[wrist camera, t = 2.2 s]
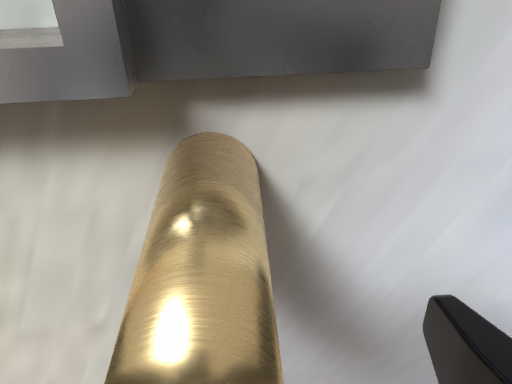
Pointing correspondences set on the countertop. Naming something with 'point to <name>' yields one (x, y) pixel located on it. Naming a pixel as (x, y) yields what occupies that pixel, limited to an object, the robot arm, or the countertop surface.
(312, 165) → the countertop surface
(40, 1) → the countertop surface
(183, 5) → the lower chain end
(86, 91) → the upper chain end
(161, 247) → the brass pin
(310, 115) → the countertop surface
